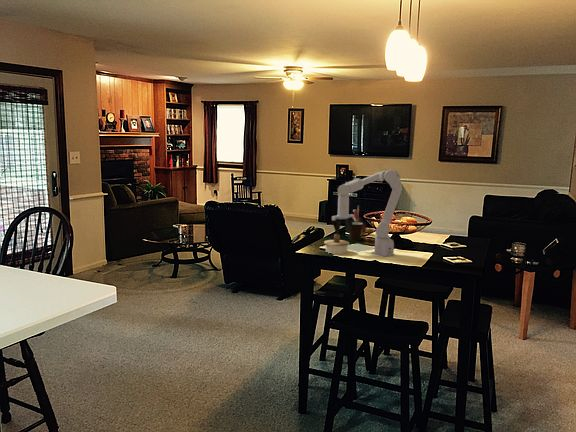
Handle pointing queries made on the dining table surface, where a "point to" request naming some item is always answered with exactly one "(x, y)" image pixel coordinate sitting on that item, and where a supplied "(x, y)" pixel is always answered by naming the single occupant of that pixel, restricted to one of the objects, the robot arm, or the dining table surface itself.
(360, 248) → the mat
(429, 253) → the dining table surface
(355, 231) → the coffee mug
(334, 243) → the lid
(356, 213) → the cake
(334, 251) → the bowl
